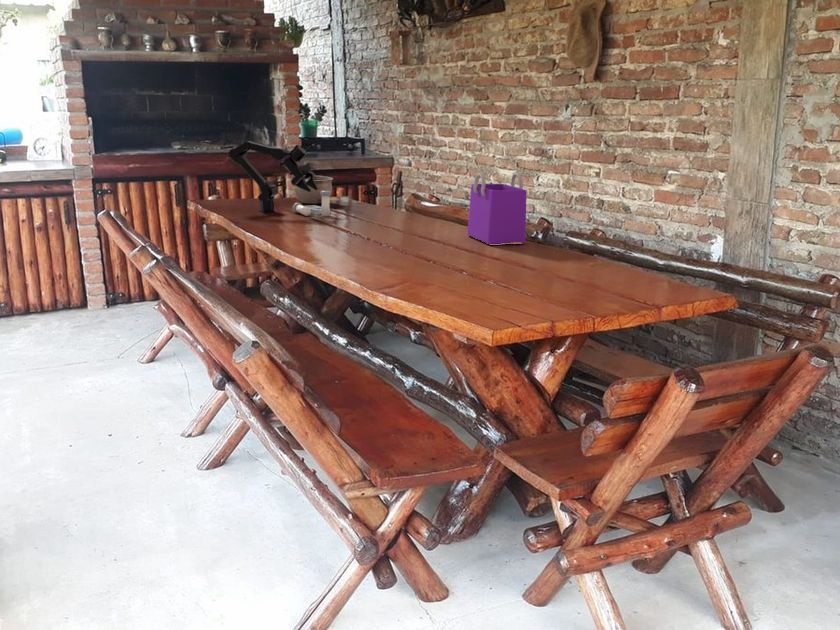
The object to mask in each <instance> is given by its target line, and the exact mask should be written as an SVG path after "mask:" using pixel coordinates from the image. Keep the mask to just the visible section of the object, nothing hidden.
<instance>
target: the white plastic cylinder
mask: <svg viewBox="0 0 840 630" xmlns="http://www.w3.org/2000/svg"><path fill="white" fill-rule="evenodd" d="M304 206H305V205H303V204H302V203H300V202H295V203H294V204H293V205H292V211H293V212H294V213H296V214H301V215H303V216H306V217H308V216H311V210H310V209H309V208H306V207H304Z"/></svg>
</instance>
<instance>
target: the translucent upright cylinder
mask: <svg viewBox="0 0 840 630" xmlns="http://www.w3.org/2000/svg"><path fill="white" fill-rule="evenodd" d="M320 195H321V196H322V203H321V207H322V214H321V217H330V213H329V209H330V197H329V196H332V193H331V191H320Z"/></svg>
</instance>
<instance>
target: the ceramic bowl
mask: <svg viewBox="0 0 840 630" xmlns="http://www.w3.org/2000/svg"><path fill="white" fill-rule="evenodd" d="M333 180H334V178H333V177H330V176H326V175H325V176H324V175H316V174H315V175H314V182H315V184H316V186H317V188H318V189H317V190H315V189H313V188H312V187H310V186H308V187H309V188H310V190H311V191H310V192H308V191H306V190H304V189H301V188H299V187H297V186H295V185H294V186H293V192H294V193H295V195H296V198H298V199H299V201H300V202H302V203H303V204H307V205H308V204H310V205H316V204H322V196H321V195H320V191H331V194H333V185H332V182H333ZM330 196H331V195H330ZM330 196H329V198H330Z"/></svg>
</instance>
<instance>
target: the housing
mask: <svg viewBox="0 0 840 630" xmlns="http://www.w3.org/2000/svg"><path fill="white" fill-rule="evenodd" d="M303 206H304V207H306V208H309V209H310V210H311V213H310V215H311V214H312V215H315V216H316V215H322V206H319V205H316V204H310V205H303ZM329 214H331V208H329Z"/></svg>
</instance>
